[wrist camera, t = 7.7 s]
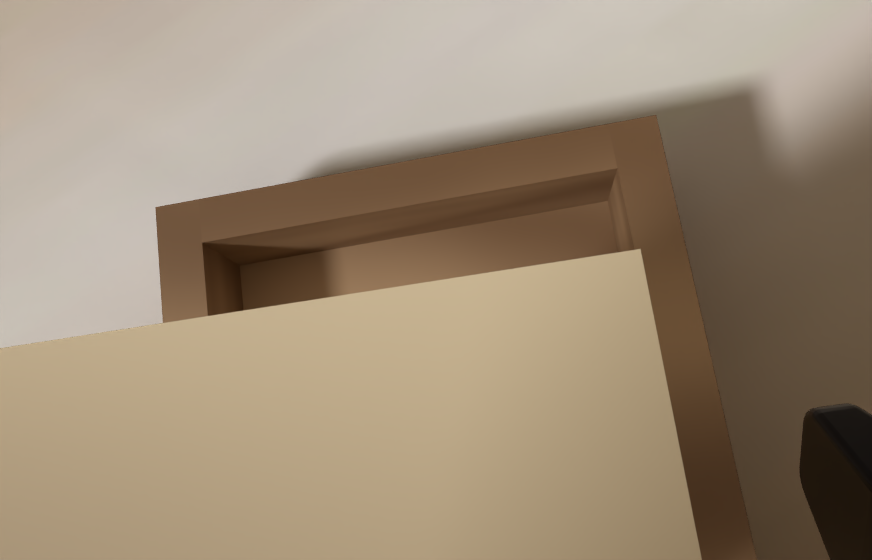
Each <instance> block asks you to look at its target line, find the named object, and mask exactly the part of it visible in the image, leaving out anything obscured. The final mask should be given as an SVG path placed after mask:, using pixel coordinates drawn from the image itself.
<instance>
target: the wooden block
mask: <svg viewBox="0 0 872 560" xmlns="http://www.w3.org/2000/svg"><path fill="white" fill-rule="evenodd" d="M0 560H702V558H701V553H700V548H699V543H698V538H697V533H696V528H695V523H694V517H693V512H692V507H691V502H690V497H689V492H688V487H687V482H686V477H685V472H684V467H683V462H682V457H681V452H680V447H679V442H678V436H677V431H676V426H675V421H674V416H673V411H672V406H671V401H670V396H669V391H668V386H667V381H666V376H665V371H664V366H663V361H662V355H661V350H660V345H659V340H658V335H657V330H656V325H655V320H654V315H653V310H652V305H651V300H650V295H649V290H648V285H647V280H646V274H645V269H644V264H643V259H642V254H641V249H637V250H630V251H624V252H617V253H611V254H604V255H598V256H591V257H585V258H579V259H572V260H566V261H559V262H553V263H546V264H540V265H534V266H527V267H521V268H514V269H508V270H501V271H495V272H489V273H482V274H476V275H469V276H463V277H456V278H450V279H443V280H437V281H431V282H424V283H418V284H411V285H405V286H398V287H392V288H386V289H379V290H373V291H366V292H360V293H353V294H347V295H340V296H334V297H328V298H321V299H315V300H308V301H302V302H295V303H289V304H283V305H276V306H270V307H263V308H257V309H250V310H244V311H237V312H231V313H225V314H218V315H212V316H205V317H199V318H192V319H186V320H180V321H173V322H167V323H160V324H154V325H147V326H141V327H135V328H128V329H122V330H115V331H109V332H102V333H96V334H89V335H83V336H77V337H70V338H64V339H57V340H51V341H44V342H38V343H32V344H25V345H19V346H12V347H6V348H0Z"/></svg>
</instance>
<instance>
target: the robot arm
mask: <svg viewBox="0 0 872 560" xmlns="http://www.w3.org/2000/svg"><path fill="white" fill-rule="evenodd" d="M800 478H801V483H802V487H803V490H804V493H805V496H806V499H807V501H808V504H809V506H810V509H811V511H812V514H813V516H814V519H815V522H816V524H817V527H818V529H819V532H820V534H821V537H822V540H823V542H824V545H825V547H826V550H827V552H828V555H829V557H830V560H872V415H871V414H870V413H868V412H866V411H865V410H863V409H861V408H860V407H858V406H855V405H852V404H838V405H831V406H824V407H817V408H812V409H810V410H809V411H808V412H807V413H806V415H805V417H804V422H803V433H802V445H801V457H800Z"/></svg>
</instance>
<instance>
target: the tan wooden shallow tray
mask: <svg viewBox="0 0 872 560" xmlns="http://www.w3.org/2000/svg"><path fill="white" fill-rule="evenodd" d="M156 222H157V238H158V253H159V269H160V284H161V300H162V315H163V323H167V322H173V321H180V320H186V319H192V318H199V317H205V316H212V315H218V314H225V313H231V312H237V311H244V310H250V309H257V308H263V307H270V306H276V305H283V304H289V303H295V302H302V301H308V300H315V299H321V298H328V297H334V296H340V295H347V294H353V293H360V292H366V291H373V290H379V289H386V288H392V287H398V286H405V285H411V284H418V283H424V282H431V281H437V280H443V279H450V278H456V277H463V276H469V275H476V274H482V273H489V272H495V271H501V270H508V269H514V268H521V267H527V266H534V265H540V264H546V263H553V262H559V261H566V260H572V259H579V258H585V257H591V256H598V255H604V254H611V253H617V252H624V251H630V250H637V249H641V254H642V259H643V264H644V269H645V274H646V280H647V285H648V290H649V295H650V300H651V305H652V310H653V315H654V320H655V325H656V330H657V335H658V340H659V345H660V350H661V355H662V361H663V366H664V371H665V376H666V381H667V386H668V391H669V396H670V401H671V406H672V411H673V416H674V421H675V426H676V431H677V436H678V442H679V447H680V452H681V457H682V462H683V467H684V472H685V477H686V482H687V487H688V492H689V497H690V502H691V507H692V512H693V517H694V523H695V528H696V533H697V538H698V543H699V548H700V553H701V558H702V560H757V558H756V553H755V549H754V544H753V540H752V536H751V531H750V527H749V522H748V518H747V514H746V509H745V505H744V500H743V496H742V491H741V487H740V483H739V478H738V474H737V469H736V465H735V461H734V456H733V452H732V447H731V443H730V439H729V434H728V430H727V425H726V421H725V417H724V412H723V408H722V403H721V399H720V395H719V390H718V386H717V381H716V377H715V372H714V368H713V364H712V359H711V355H710V350H709V346H708V342H707V337H706V333H705V328H704V324H703V320H702V315H701V311H700V306H699V302H698V298H697V293H696V289H695V284H694V280H693V275H692V271H691V267H690V262H689V258H688V253H687V249H686V245H685V240H684V236H683V231H682V227H681V223H680V218H679V214H678V209H677V205H676V201H675V196H674V192H673V187H672V183H671V179H670V174H669V170H668V165H667V161H666V156H665V152H664V148H663V143H662V139H661V134H660V130H659V126H658V121H657V117H656V115H653V116H648V117H643V118H637V119H632V120H626V121H621V122H616V123H610V124H605V125H599V126H594V127H588V128H583V129H578V130H572V131H567V132H561V133H556V134H550V135H545V136H540V137H534V138H529V139H523V140H518V141H512V142H507V143H502V144H496V145H491V146H485V147H480V148H475V149H469V150H464V151H458V152H453V153H447V154H442V155H437V156H431V157H426V158H420V159H415V160H409V161H404V162H399V163H393V164H388V165H382V166H377V167H372V168H366V169H361V170H355V171H350V172H344V173H339V174H334V175H328V176H323V177H317V178H312V179H306V180H301V181H296V182H290V183H285V184H279V185H274V186H268V187H263V188H258V189H252V190H247V191H241V192H236V193H231V194H225V195H220V196H214V197H209V198H203V199H198V200H193V201H187V202H182V203H176V204H171V205H165V206H160V207H156Z"/></svg>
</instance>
